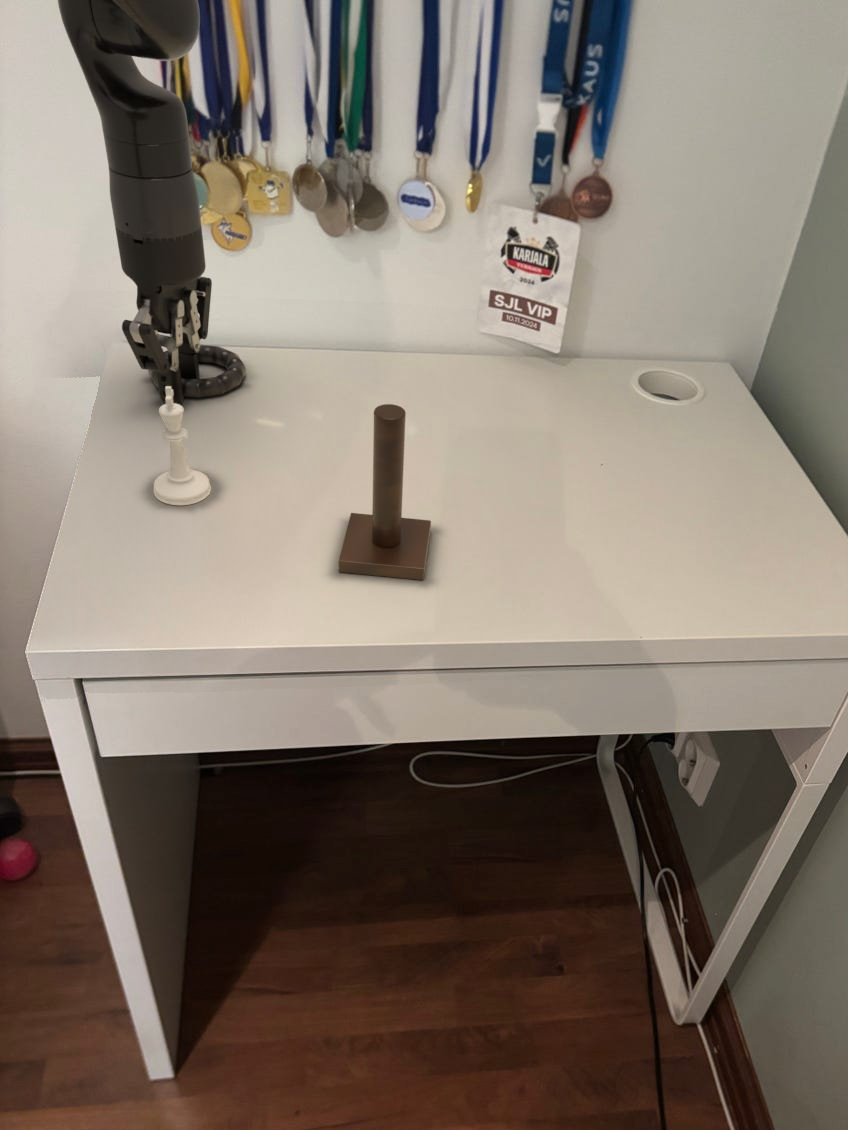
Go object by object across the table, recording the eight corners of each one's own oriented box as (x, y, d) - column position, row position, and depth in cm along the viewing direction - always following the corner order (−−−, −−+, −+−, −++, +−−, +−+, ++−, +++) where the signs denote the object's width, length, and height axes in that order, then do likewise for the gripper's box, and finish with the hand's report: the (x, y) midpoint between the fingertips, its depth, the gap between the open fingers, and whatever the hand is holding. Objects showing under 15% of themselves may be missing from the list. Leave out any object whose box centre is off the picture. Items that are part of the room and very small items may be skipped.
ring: (139, 395, 97) (136, 378, 96) (166, 353, 104) (164, 337, 103) (233, 404, 97) (232, 388, 96) (254, 362, 104) (253, 346, 103)
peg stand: (338, 572, 78) (336, 429, 70) (350, 523, 84) (350, 385, 75) (423, 580, 79) (432, 439, 70) (430, 531, 84) (439, 394, 75)
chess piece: (150, 505, 83) (132, 401, 76) (157, 475, 87) (141, 372, 80) (208, 505, 84) (196, 402, 77) (213, 475, 87) (201, 374, 81)
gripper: (158, 190, 92) (179, 358, 103) (77, 237, 82) (111, 418, 93) (230, 203, 91) (244, 371, 102) (157, 252, 81) (182, 433, 92)
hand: (180, 393), depth 98 cm, fingers open, 3 cm apart
